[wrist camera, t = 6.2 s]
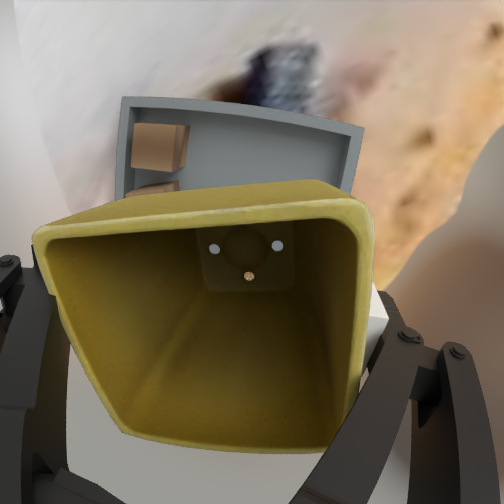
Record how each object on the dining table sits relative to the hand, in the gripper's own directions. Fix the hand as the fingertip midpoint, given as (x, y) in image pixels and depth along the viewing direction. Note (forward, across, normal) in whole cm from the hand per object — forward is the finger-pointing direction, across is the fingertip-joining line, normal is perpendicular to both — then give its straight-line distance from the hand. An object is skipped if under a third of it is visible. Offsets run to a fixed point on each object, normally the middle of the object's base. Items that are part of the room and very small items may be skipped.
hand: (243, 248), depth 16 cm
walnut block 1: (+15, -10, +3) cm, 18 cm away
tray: (+16, -4, 0) cm, 16 cm away
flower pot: (0, 0, 0) cm, 0 cm away
